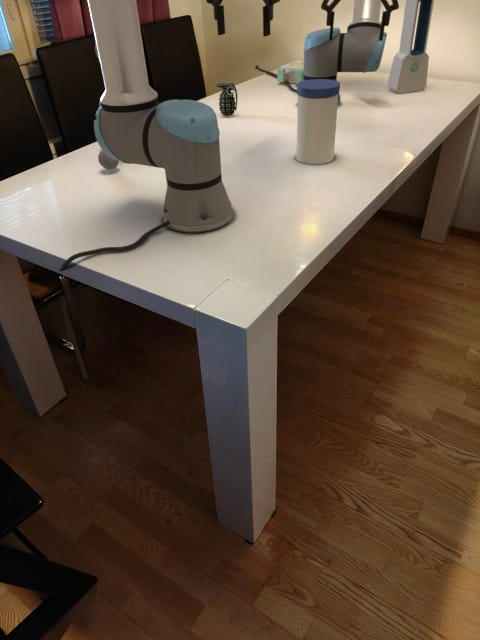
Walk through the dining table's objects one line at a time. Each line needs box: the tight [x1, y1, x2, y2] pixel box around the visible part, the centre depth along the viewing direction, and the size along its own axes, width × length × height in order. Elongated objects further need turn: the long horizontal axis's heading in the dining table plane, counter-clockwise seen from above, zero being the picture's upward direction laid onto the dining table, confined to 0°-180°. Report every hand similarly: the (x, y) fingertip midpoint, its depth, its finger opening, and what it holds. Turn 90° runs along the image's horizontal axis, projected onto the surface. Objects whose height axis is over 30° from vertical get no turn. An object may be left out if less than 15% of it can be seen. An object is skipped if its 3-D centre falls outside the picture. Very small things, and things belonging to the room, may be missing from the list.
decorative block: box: [276, 58, 304, 85], centre depth 205 cm, size 26×6×20 cm
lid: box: [296, 79, 341, 98], centre depth 122 cm, size 11×11×2 cm
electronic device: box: [387, 0, 435, 94], centre depth 176 cm, size 12×8×30 cm, turn 105°
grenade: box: [215, 82, 238, 117], centre depth 166 cm, size 7×6×10 cm
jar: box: [295, 94, 338, 165], centre depth 128 cm, size 10×10×18 cm
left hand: (243, 35), depth 129 cm, fingers open, 13 cm apart
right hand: (355, 39), depth 135 cm, fingers open, 13 cm apart
